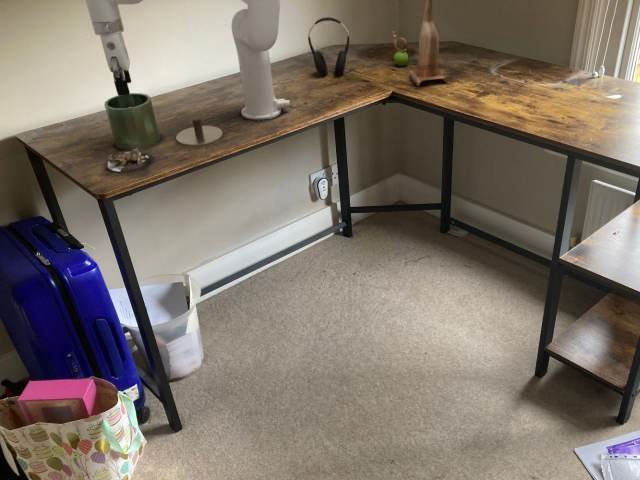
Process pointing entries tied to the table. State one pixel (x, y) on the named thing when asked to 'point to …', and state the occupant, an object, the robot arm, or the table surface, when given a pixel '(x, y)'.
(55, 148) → the table surface
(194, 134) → the lid
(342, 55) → the headphones
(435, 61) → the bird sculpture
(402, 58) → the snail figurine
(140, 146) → the pot
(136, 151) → the frog figurine
